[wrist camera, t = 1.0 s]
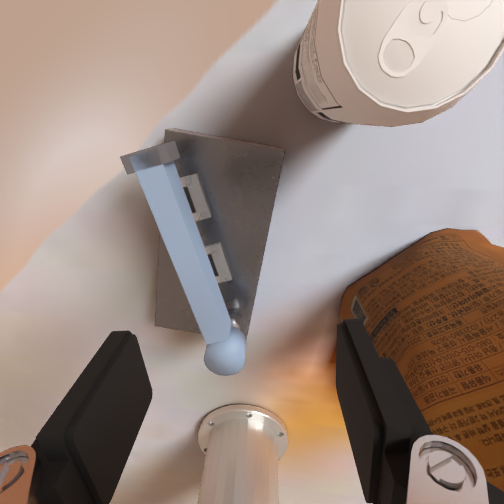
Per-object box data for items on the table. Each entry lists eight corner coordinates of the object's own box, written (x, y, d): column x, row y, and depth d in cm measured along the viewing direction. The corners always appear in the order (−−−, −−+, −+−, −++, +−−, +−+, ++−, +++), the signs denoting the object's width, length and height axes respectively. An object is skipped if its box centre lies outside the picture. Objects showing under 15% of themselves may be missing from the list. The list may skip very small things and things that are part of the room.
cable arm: (250, 352, 30) (249, 371, 28) (215, 358, 30) (211, 378, 28) (177, 139, 22) (167, 142, 20) (131, 153, 23) (117, 157, 21)
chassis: (247, 323, 36) (244, 362, 31) (163, 310, 36) (144, 346, 30) (282, 148, 28) (287, 155, 23) (174, 128, 28) (152, 131, 22)
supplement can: (332, -17, 24) (426, -203, 10) (413, 50, 25) (593, -30, 11) (273, 85, 26) (282, 52, 13) (349, 140, 28) (430, 163, 14)
